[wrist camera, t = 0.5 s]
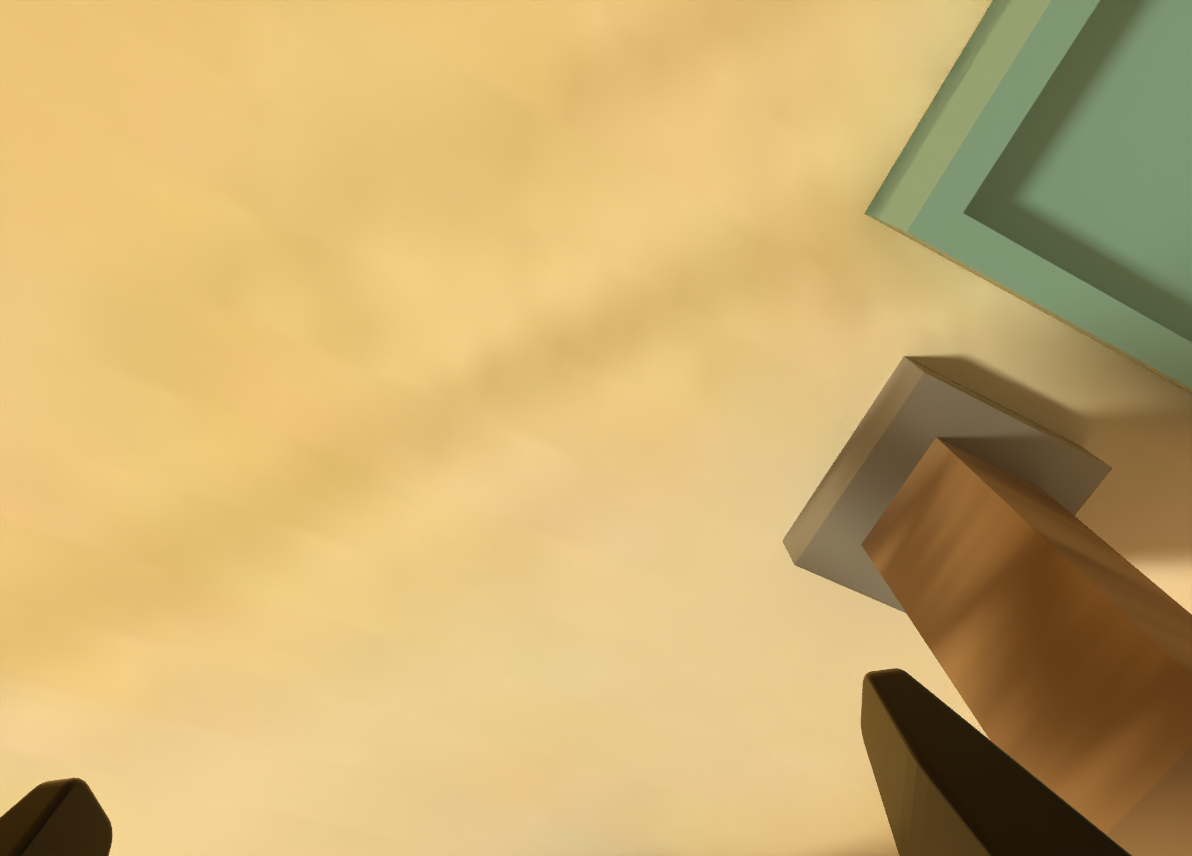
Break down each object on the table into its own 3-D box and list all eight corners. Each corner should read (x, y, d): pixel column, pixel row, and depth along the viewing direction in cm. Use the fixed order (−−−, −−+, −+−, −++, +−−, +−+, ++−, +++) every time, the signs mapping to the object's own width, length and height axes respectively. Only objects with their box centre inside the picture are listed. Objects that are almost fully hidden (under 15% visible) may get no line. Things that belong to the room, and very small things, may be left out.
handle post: (953, 615, 29) (1237, 994, 17) (782, 540, 27) (961, 898, 16) (1083, 448, 27) (1515, 749, 15) (903, 356, 25) (1223, 609, 13)
